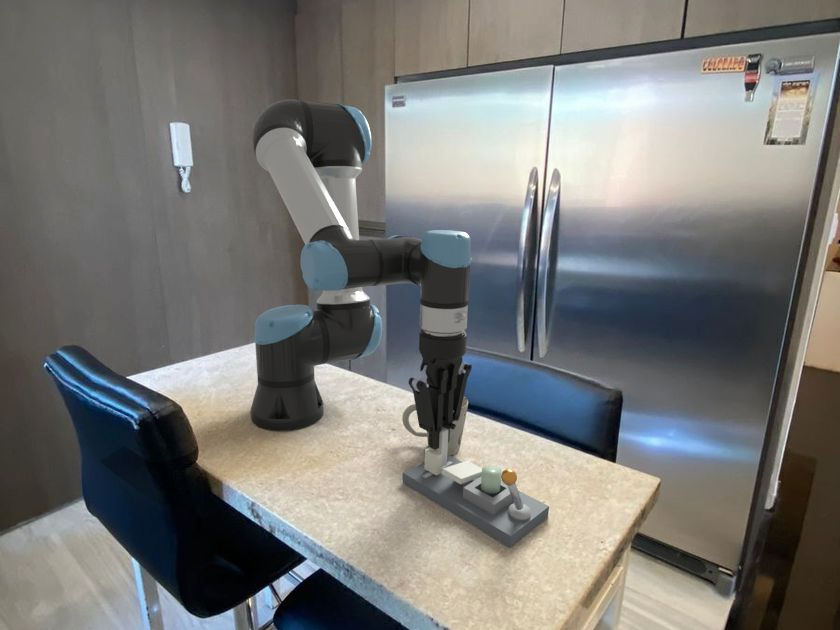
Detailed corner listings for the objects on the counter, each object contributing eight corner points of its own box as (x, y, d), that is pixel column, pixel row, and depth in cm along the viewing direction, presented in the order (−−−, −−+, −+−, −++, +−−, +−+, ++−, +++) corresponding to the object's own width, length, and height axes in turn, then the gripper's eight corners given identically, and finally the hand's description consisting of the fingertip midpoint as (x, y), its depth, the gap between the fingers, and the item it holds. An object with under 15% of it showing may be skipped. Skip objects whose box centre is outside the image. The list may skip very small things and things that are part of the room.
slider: (424, 468, 88) (425, 449, 87) (429, 466, 89) (429, 447, 88) (436, 475, 86) (437, 456, 85) (441, 472, 87) (442, 453, 86)
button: (476, 487, 80) (478, 470, 80) (488, 480, 82) (489, 463, 82) (492, 496, 78) (493, 478, 78) (504, 488, 80) (505, 471, 80)
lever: (508, 508, 77) (496, 475, 72) (517, 497, 78) (505, 463, 73) (521, 515, 75) (509, 481, 71) (529, 503, 76) (518, 469, 72)
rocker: (441, 473, 83) (442, 468, 83) (466, 465, 88) (467, 460, 88) (460, 484, 81) (461, 478, 80) (485, 475, 85) (486, 470, 85)
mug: (462, 462, 95) (465, 411, 92) (396, 453, 97) (397, 404, 95) (467, 440, 103) (470, 393, 100) (406, 433, 105) (407, 387, 103)
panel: (402, 483, 88) (403, 463, 87) (442, 461, 95) (443, 443, 94) (509, 548, 73) (511, 525, 72) (548, 517, 80) (550, 495, 79)
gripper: (432, 343, 75) (427, 487, 81) (487, 327, 84) (479, 457, 90) (396, 332, 80) (394, 468, 86) (452, 318, 89) (447, 442, 95)
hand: (438, 462), depth 88 cm, fingers closed
